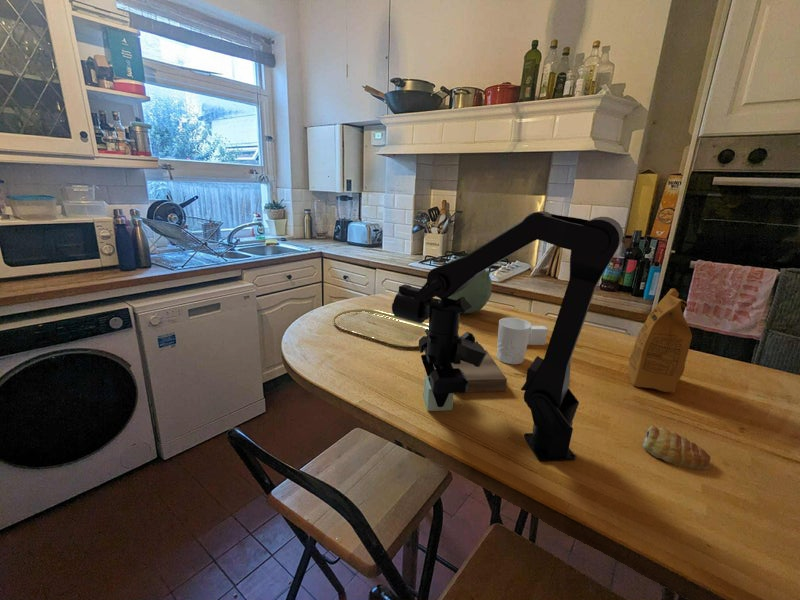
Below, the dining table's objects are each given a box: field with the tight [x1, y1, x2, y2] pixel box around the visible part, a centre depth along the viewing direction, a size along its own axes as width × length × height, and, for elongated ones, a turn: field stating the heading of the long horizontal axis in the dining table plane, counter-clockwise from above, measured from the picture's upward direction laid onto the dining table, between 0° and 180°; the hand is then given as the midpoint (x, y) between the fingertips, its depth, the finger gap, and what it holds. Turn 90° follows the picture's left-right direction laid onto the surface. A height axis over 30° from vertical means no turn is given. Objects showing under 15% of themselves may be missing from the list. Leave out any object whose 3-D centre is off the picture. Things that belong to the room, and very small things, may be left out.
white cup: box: [496, 317, 533, 366], centre depth 95 cm, size 8×8×10 cm
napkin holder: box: [528, 325, 549, 346], centre depth 105 cm, size 15×11×6 cm
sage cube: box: [422, 375, 455, 412], centre depth 75 cm, size 5×5×5 cm
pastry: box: [642, 425, 711, 471], centre depth 64 cm, size 9×7×4 cm
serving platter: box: [332, 308, 429, 350], centre depth 112 cm, size 19×35×2 cm, turn 58°
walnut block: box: [451, 349, 508, 393], centre depth 87 cm, size 14×12×3 cm
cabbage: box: [446, 257, 492, 315], centre depth 125 cm, size 16×19×20 cm
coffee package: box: [627, 288, 693, 394], centre depth 85 cm, size 10×12×22 cm
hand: (437, 398), depth 76 cm, fingers closed on sage cube, 5 cm apart
